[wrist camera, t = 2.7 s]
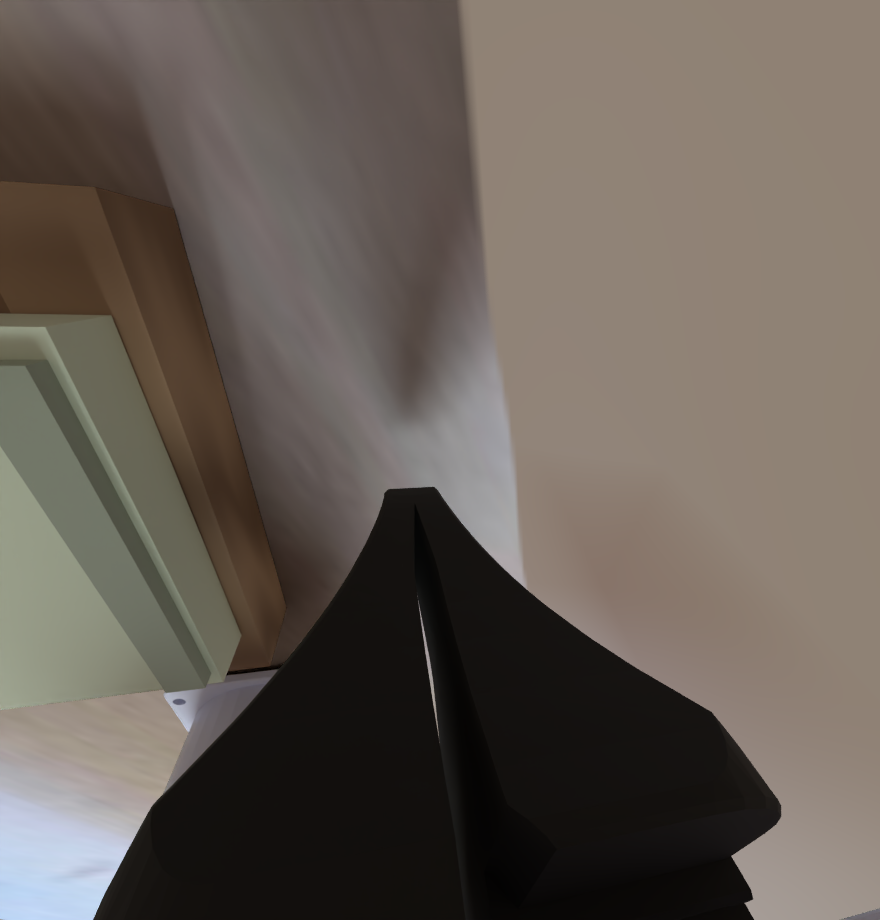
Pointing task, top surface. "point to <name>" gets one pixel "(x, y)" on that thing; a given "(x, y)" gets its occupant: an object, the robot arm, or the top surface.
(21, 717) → the top surface
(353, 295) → the top surface
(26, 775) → the top surface
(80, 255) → the board
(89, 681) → the cover
